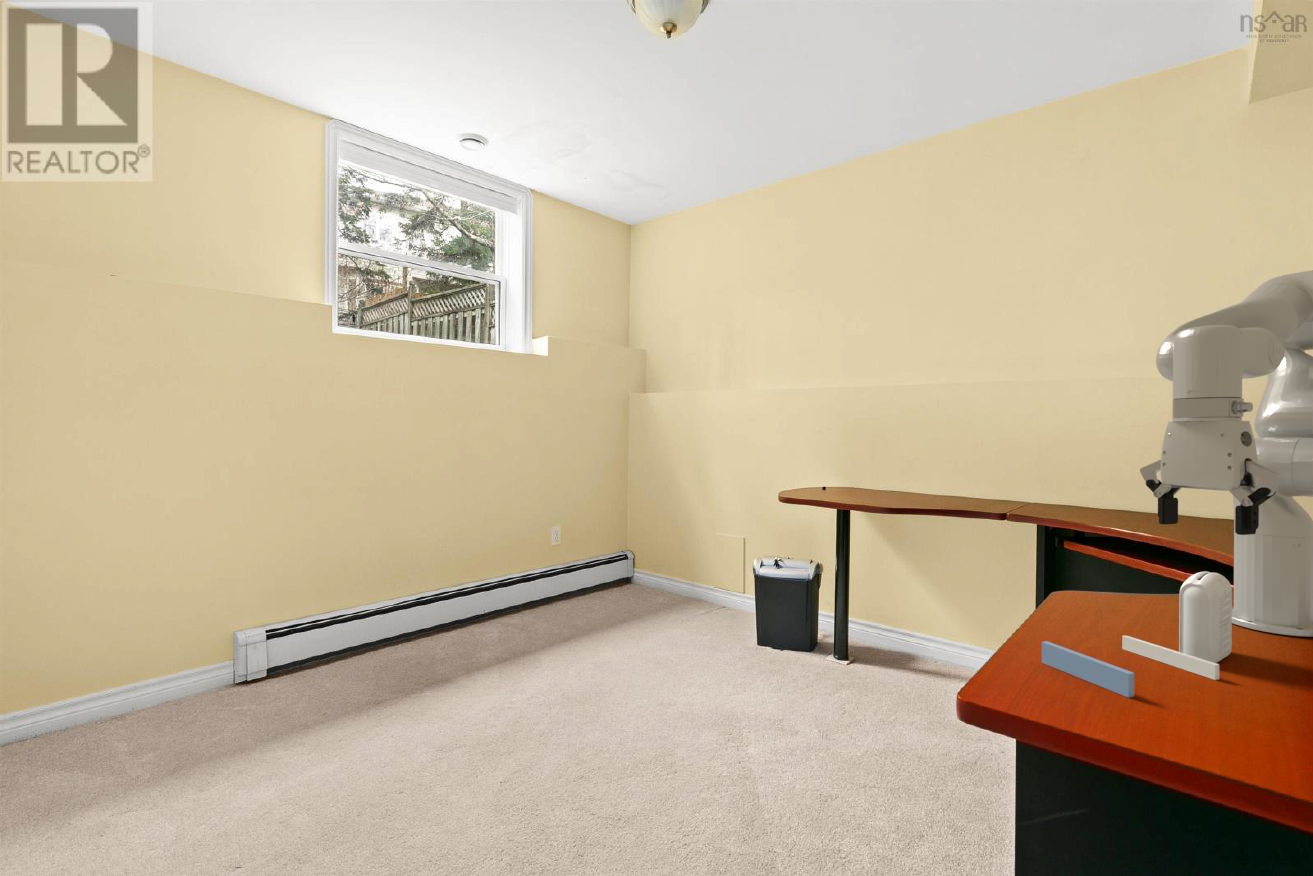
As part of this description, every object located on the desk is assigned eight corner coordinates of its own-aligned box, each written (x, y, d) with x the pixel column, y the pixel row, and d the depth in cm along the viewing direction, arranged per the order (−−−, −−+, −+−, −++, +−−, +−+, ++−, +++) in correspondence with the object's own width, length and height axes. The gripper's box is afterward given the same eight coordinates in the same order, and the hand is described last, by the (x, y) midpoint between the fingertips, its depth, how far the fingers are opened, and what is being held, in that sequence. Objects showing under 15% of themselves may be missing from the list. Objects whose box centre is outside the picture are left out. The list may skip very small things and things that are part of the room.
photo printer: (1198, 644, 94) (1198, 565, 94) (1235, 653, 90) (1236, 570, 90) (1174, 659, 88) (1174, 575, 88) (1213, 669, 84) (1213, 581, 84)
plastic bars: (1126, 648, 93) (1126, 628, 92) (1219, 679, 81) (1219, 657, 81) (1041, 662, 87) (1041, 642, 87) (1128, 697, 76) (1128, 674, 76)
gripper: (1300, 410, 81) (1298, 537, 81) (1159, 413, 98) (1158, 519, 98) (1264, 409, 79) (1262, 540, 79) (1126, 413, 96) (1125, 521, 96)
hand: (1205, 528), depth 89 cm, fingers open, 9 cm apart
